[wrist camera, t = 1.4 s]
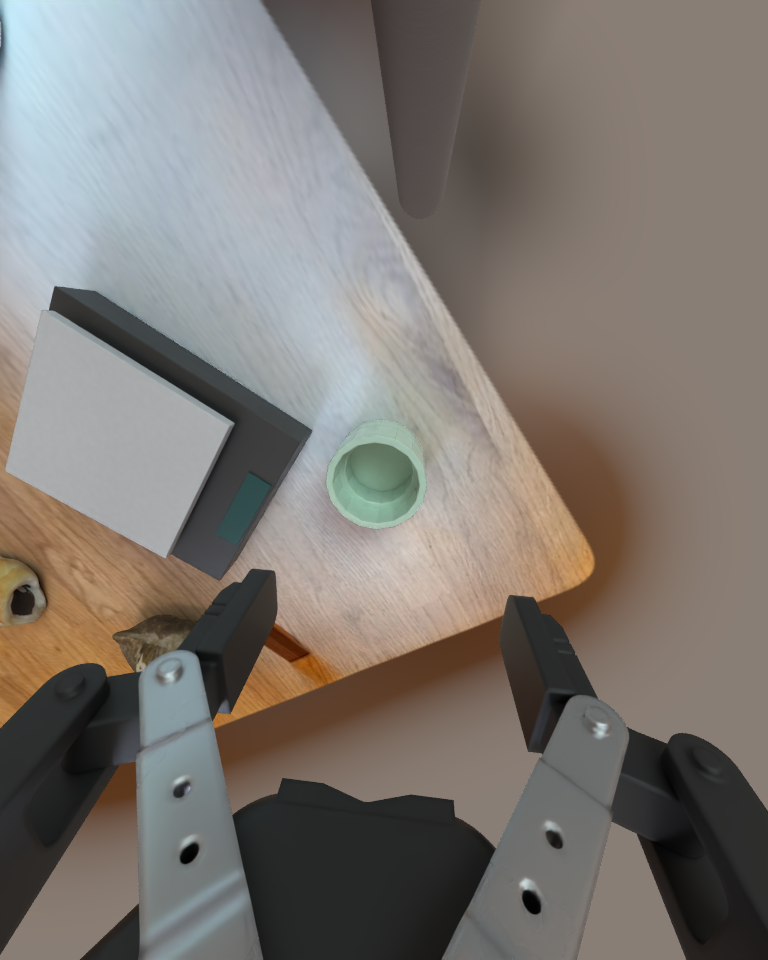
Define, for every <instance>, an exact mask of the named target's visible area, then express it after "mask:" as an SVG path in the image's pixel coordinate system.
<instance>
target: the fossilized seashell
mask: <svg viewBox="0 0 768 960" xmlns="http://www.w3.org/2000/svg"><path fill="white" fill-rule="evenodd" d="M195 625H196V622H193V621H187V620H179V619H177V618H175V617H173V616H171V615H158V616H154V617H151V618H149V619H146V620H144V621H142V622H141V623H139V624H138V625H136V626H134V627H132V628H131V629H129V630H125V631H120V632H117V633H115V634H114V635H113V636H112V637H113V639H114V640H115V641H116V642H117V643H118V644H119V645H120V648H121V650H122V652H123V654H124V656H125V658H126V660H127V662H128V663H129V665H130V666H131V667H132V669H133V670H134V672H140V671H143V670H144V668H145V667H146V666H147V665H148V664H149V663H150V662H152V661H153V660H154V659H156V658H157V657H159V656H161V655H163V654H166V653H168V652H172V651H176V650H177V649H178V647H179V646H180V645H181V643H182V642H183V641H184V639H185V638H186V637H187V635H188V634H189V633H190V631H191V630H192V629H193V627H194V626H195Z"/></svg>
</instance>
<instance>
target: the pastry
mask: <svg viewBox="0 0 768 960" xmlns="http://www.w3.org/2000/svg"><path fill="white" fill-rule="evenodd" d="M46 604H47V603H46V600H45V596H44V593H43V591H42V590H41V588H40V586H39V581H38V578H37V576H36V574H35V573H34V571H32V570H31V569H30V568H29V566H28V565H26V564H24V563H22V562H20V561H18V560H16V559H7V558H3V557H2V556H0V628H3V627H6V626H7V627H12V626H15V625H23V624H26V623H32V622H35V621H36V620H38V619H39V618H40V616H41V615H42V612H43V610H44V609H45V608H46Z"/></svg>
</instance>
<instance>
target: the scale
mask: <svg viewBox="0 0 768 960" xmlns="http://www.w3.org/2000/svg"><path fill="white" fill-rule="evenodd" d="M311 432H312V430H311V429H309V428H308V427H306V426H305V425H303V424H302V423H300V422H298V421H297V420H295V419H294V418H292V417H291V416H289V415H288V414H286V413H284V412H283V411H281V410H280V409H278V408H277V407H275V406H273V405H272V404H270V403H269V402H267V401H266V400H264V399H263V398H261V397H259V396H258V395H256V394H255V393H253V392H252V391H250V390H248V389H247V388H245V387H244V386H242V385H241V384H239V383H238V382H236V381H234V380H233V379H231V378H230V377H228V376H227V375H225V374H224V373H222V372H220V371H219V370H217V369H216V368H214V367H213V366H211V365H209V364H208V363H206V362H205V361H203V360H202V359H200V358H199V357H197V356H195V355H194V354H192V353H191V352H189V351H188V350H186V349H184V348H183V347H181V346H180V345H178V344H177V343H175V342H174V341H172V340H170V339H169V338H167V337H166V336H164V335H163V334H161V333H160V332H158V331H156V330H155V329H153V328H152V327H150V326H149V325H147V324H145V323H144V322H142V321H141V320H139V319H138V318H136V317H135V316H133V315H131V314H130V313H128V312H127V311H125V310H124V309H122V308H120V307H119V306H117V305H116V304H114V303H113V302H111V301H110V300H108V299H106V298H105V297H103V296H102V295H100V294H99V293H97V292H95V291H90V290H82V289H74V288H66V287H57V286H55V287H54V291H53V295H52V299H51V304H50V308H49V310H42V311H41V316H40V320H39V325H38V329H37V333H36V338H35V342H34V346H33V351H32V355H31V360H30V364H29V368H28V373H27V377H26V381H25V386H24V390H23V395H22V399H21V403H20V408H19V412H18V416H17V421H16V425H15V430H14V434H13V438H12V443H11V447H10V451H9V456H8V460H7V465H6V469H5V471H6V472H8V473H10V474H11V475H13V476H15V477H17V478H19V479H21V480H22V481H24V482H26V483H28V484H30V485H32V486H33V487H35V488H37V489H39V490H41V491H42V492H44V493H46V494H48V495H50V496H52V497H53V498H55V499H57V500H59V501H61V502H63V503H64V504H66V505H68V506H70V507H72V508H74V509H75V510H77V511H79V512H81V513H83V514H84V515H86V516H88V517H90V518H92V519H94V520H95V521H97V522H99V523H101V524H103V525H105V526H106V527H108V528H110V529H112V530H114V531H116V532H117V533H119V534H121V535H123V536H125V537H126V538H128V539H130V540H132V541H134V542H136V543H137V544H139V545H141V546H143V547H145V548H147V549H148V550H150V551H152V552H154V553H156V554H157V555H159V556H161V557H163V558H166V557H167V556H168V555H170V554H172V555H174V556H176V557H177V558H179V559H181V560H183V561H185V562H186V563H188V564H190V565H192V566H194V567H196V568H197V569H199V570H201V571H203V572H205V573H206V574H208V575H210V576H212V577H214V578H215V579H217V580H221V578H222V577H223V576H224V575H225V573H226V572H227V571H228V570H229V568H230V567H231V566H232V565H233V563H234V562H235V561H236V559H237V558H238V556H239V554H240V553H241V551H242V549H243V548H244V546H245V544H246V543H247V541H248V539H249V537H250V536H251V534H252V532H253V531H254V529H255V527H256V526H257V524H258V522H259V520H260V519H261V517H262V515H263V514H264V512H265V510H266V509H267V507H268V505H269V503H270V502H271V500H272V498H273V497H274V495H275V493H276V492H277V490H278V488H279V487H280V485H281V483H282V481H283V480H284V478H285V476H286V475H287V473H288V471H289V470H290V468H291V466H292V464H293V463H294V461H295V459H296V458H297V456H298V454H299V453H300V451H301V449H302V447H303V446H304V444H305V442H306V441H307V439H308V437H309V436H310V434H311Z"/></svg>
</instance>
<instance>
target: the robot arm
mask: <svg viewBox="0 0 768 960" xmlns="http://www.w3.org/2000/svg"><path fill="white" fill-rule="evenodd" d="M277 607H278V606H277V589H276V575H275V572H274V571H271V570H261V569H251V570H250V571H249V573H248V574H247V575H246V577H245V578H244V580H243V581H242V583H238V582H233V583H232V584H231V585H229V586H228V587H226V588H225V589H223V590H222V591H221V592H220V593H219V594H218V596H217V597H216V598H215V600H214V601H213V602H212V605H210V606H209V607H208V609H207V610H206V611H205V614H204V615H202V617H201V618H200V619H199V621H198V622H197V623H196V625H195V626H194V627H193V629H192V630H191V631H190V633H189V634H188V635H187V637H186V638H185V639H184V641H183V642H182V643H181V645H180V646H179V647H178V649H177V650H176V651H172V652H168V653H166V654H163V655H161V656H159V657H157V658H156V659H154V660H153V661H152V662H150V663H149V664H148V665H147V666H146V667H145V668H144V670H143V671H140V672H135V673H129V674H123V675H116V676H110V677H107V675H106V672H105V669H104V668H103V667H102V666H101V665H99V664H94V663H86V664H80V665H76V666H73V667H70V668H68V669H66V670H64V671H62V672H60V673H58V674H57V675H55V676H53V677H52V678H51V679H49V680H48V681H47V682H46V683H45V684H44V685H43V686H42V687H41V688H40V689H39V690H38V691H37V692H36V693H35V694H34V695H33V696H32V697H31V698H30V699H29V700H28V701H27V702H26V703H25V704H24V705H23V706H22V707H21V708H20V709H19V710H18V711H17V712H16V713H15V714H14V715H13V716H12V717H11V718H10V719H9V720H8V721H7V722H6V723H5V724H4V725H3V726H2V727H1V728H0V954H1V953H2V951H3V950H4V948H5V946H6V945H7V943H8V941H9V940H10V938H11V937H12V935H13V934H14V932H15V930H16V929H17V927H18V926H19V924H20V922H21V921H22V919H23V918H24V916H25V914H26V913H27V911H28V910H29V908H30V907H31V905H32V903H33V902H34V900H35V898H36V897H37V895H38V894H39V892H40V891H41V889H42V887H43V886H44V884H45V883H46V881H47V879H48V878H49V876H50V874H51V873H52V871H53V870H54V868H55V867H56V865H57V863H58V862H59V860H60V859H61V857H62V856H63V854H64V852H65V851H66V849H67V848H68V846H69V844H70V843H71V841H72V840H73V838H74V836H75V835H76V833H77V831H78V830H79V828H80V827H81V825H82V824H83V822H84V821H85V819H86V817H87V816H88V814H89V813H90V811H91V809H92V808H93V806H94V805H95V803H96V801H97V800H98V798H99V797H100V795H101V793H102V792H103V790H104V789H105V787H106V786H107V784H108V782H109V781H110V779H111V778H112V776H113V774H114V773H115V771H116V770H117V768H118V766H119V765H120V764H125V763H129V762H134V761H136V781H137V782H136V783H137V827H138V874H139V875H138V876H139V904H138V905H137V906H136V907H135V908H134V909H132V910H131V911H130V912H129V913H128V914H127V915H126V916H125V917H124V918H123V919H122V920H121V921H120V922H119V923H118V924H117V925H116V926H115V927H114V928H113V929H112V930H110V931H109V932H108V933H107V934H106V935H105V936H104V937H103V938H102V939H101V940H100V941H99V942H98V943H97V944H96V945H95V946H94V947H93V948H92V949H91V950H89V951H88V952H87V953H86V954H85V955H84V956H83V957H82V958H81V959H80V960H577V956H578V952H579V948H580V944H581V941H582V937H583V933H584V929H585V925H586V921H587V917H588V913H589V909H590V905H591V901H592V897H593V893H594V889H595V886H596V882H597V877H598V873H599V870H600V866H601V862H602V858H603V854H604V850H605V846H606V842H607V838H608V834H609V830H610V827H611V822H614V823H616V824H618V825H620V826H622V827H624V828H626V829H628V830H631V831H633V832H635V833H637V836H638V838H639V841H640V843H641V845H642V848H643V850H644V853H645V856H646V858H647V861H648V863H649V866H650V869H651V871H652V874H653V876H654V879H655V881H656V884H657V886H658V889H659V891H660V894H661V896H662V899H663V902H664V904H665V907H666V909H667V912H668V914H669V917H670V919H671V922H672V924H673V927H674V929H675V932H676V934H677V937H678V940H679V942H680V945H681V947H682V950H683V952H684V955H685V957H686V960H768V811H767V809H766V808H765V806H764V805H763V803H762V802H761V801H760V799H759V798H758V796H757V795H756V793H755V792H754V791H753V789H752V787H751V786H750V785H749V783H748V782H747V780H746V779H745V777H744V776H743V774H742V773H741V771H740V770H739V769H738V767H737V766H736V765H735V764H734V763H733V761H731V759H730V758H729V757H728V756H727V755H725V754H724V753H723V752H722V751H721V750H719V749H718V748H717V747H715V746H714V745H712V744H711V743H709V742H707V741H705V740H704V739H701V738H699V737H697V736H694V735H691V734H686V733H678V734H675V735H673V736H672V737H671V738H670V740H669V742H668V743H664V742H661V741H659V740H656V739H654V738H651V737H649V736H646V735H644V734H641V733H638V732H636V731H634V730H632V729H630V728H628V727H627V726H626V724H625V723H624V721H623V719H622V718H621V717H620V716H619V714H618V713H617V712H615V710H614V709H612V708H611V707H610V706H608V705H607V704H606V703H604V702H602V701H601V700H599V699H598V698H597V696H596V694H595V692H594V690H593V688H592V686H591V684H590V682H589V680H588V678H587V676H586V674H585V672H584V670H583V668H582V666H581V664H580V662H579V660H578V657H577V656H576V655H575V651H574V649H573V648H572V645H571V644H569V640H568V637H567V635H566V634H565V632H564V630H563V627H562V626H561V625H560V624H558V622H557V621H555V619H554V618H553V617H552V616H551V615H545V614H541V612H540V610H539V607H538V605H537V603H536V601H535V599H534V598H533V597H525V596H515V595H510V596H509V597H508V599H507V603H506V608H505V612H504V616H503V622H502V626H501V630H500V648H501V652H502V656H503V660H504V664H505V667H506V670H507V675H508V679H509V682H510V686H511V690H512V693H513V697H514V701H515V705H516V708H517V712H518V716H519V719H520V723H521V727H522V731H523V734H524V738H525V742H526V745H527V749H528V752H536V753H542V757H541V758H539V760H538V761H537V763H536V765H535V768H534V770H533V772H532V774H531V776H530V778H529V780H528V783H527V784H526V787H525V789H524V791H523V793H522V795H521V797H520V799H519V801H518V803H517V806H516V808H515V810H514V812H513V814H512V816H511V818H510V820H509V823H508V825H507V827H506V829H505V831H504V833H503V835H502V837H501V839H500V841H499V843H498V846H497V848H495V847H494V846H493V845H492V844H491V843H490V842H489V841H488V840H487V839H486V838H485V837H484V836H483V835H482V834H481V833H479V831H477V830H476V829H475V828H473V827H472V826H470V825H469V824H467V823H466V822H464V821H463V820H461V819H459V818H456V817H455V813H454V800H448V799H440V798H432V797H425V796H417V795H406V796H401V797H395V798H390V799H384V800H379V801H373V802H363V801H360V800H358V799H356V798H354V797H352V796H350V795H347V794H345V793H343V792H341V791H339V790H337V789H335V788H332V787H330V786H328V785H326V784H324V783H316V782H309V781H301V780H294V779H286V778H282V781H281V785H280V788H279V791H278V794H273V795H269V796H266V797H263V798H260V799H258V800H256V801H254V802H252V803H250V804H248V805H246V806H245V807H243V808H242V809H240V810H238V811H237V812H236V813H234V814H233V815H232V812H231V807H230V803H229V798H228V793H227V789H226V784H225V779H224V774H223V769H222V765H221V760H220V755H219V751H218V747H217V741H216V737H215V732H214V727H213V722H212V721H213V720H214V718H215V716H216V714H217V713H225V714H231V712H232V710H233V708H234V705H235V703H236V701H237V699H238V697H239V695H240V693H241V691H242V689H243V687H244V685H245V683H246V681H247V679H248V677H249V675H250V673H251V671H252V669H253V666H254V664H255V662H256V660H257V658H258V656H259V654H260V652H261V650H262V648H263V646H264V644H265V642H266V640H267V638H268V636H269V634H270V632H271V629H272V627H273V625H274V623H275V620H276V616H277Z"/></svg>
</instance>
